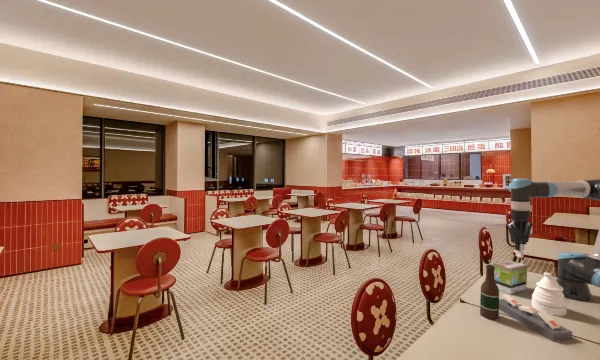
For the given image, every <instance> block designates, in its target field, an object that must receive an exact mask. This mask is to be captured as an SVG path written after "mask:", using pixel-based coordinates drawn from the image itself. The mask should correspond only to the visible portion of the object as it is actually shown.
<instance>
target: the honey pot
mask: <svg viewBox="0 0 600 360" xmlns="http://www.w3.org/2000/svg"><path fill="white" fill-rule="evenodd" d="M556 280H557V278H555V277H554V276H553V275H551V273H550V272H543V277H542V278H541V279H540V281H537V282H536V283H535V285H536V287H535V288H534V291H533V293H532V295H531V307H532V308H533V309H536V310H539V312H546V313H547V314H548V315H551V316H557V317H558V316H559V317H563V316H567V311H568V306H567V305H568V303H567V300H566V297H564V294H563V292H562V291H563V290H564V289H563V287H561V286H560V285H559V284H558V282H557V281H556Z"/></svg>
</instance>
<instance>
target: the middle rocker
mask: <svg viewBox="0 0 600 360" xmlns="http://www.w3.org/2000/svg"><path fill="white" fill-rule="evenodd" d="M518 307H519V309H520V310H523V311H527V312H530V313H533V314H534V313H537V314H538V313H539V312H540V311H539V310H537V309H535V308H534V307H529V306H526V305H522V306H518Z"/></svg>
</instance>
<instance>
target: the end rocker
mask: <svg viewBox="0 0 600 360" xmlns="http://www.w3.org/2000/svg"><path fill="white" fill-rule="evenodd" d="M537 314H539V315H540V317H541V318H542V319H543V320H544V321H545V322H546V323H547V324H548V325H549V326H550V327H551V328H552V329H559V328H560V326H561V325H560V324H558V322H556V321H555V320H554V319H553V318H552V316H550V314H547V313H546V312H541V311H539V313H537ZM559 325H560V326H559Z"/></svg>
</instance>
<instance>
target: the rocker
mask: <svg viewBox="0 0 600 360" xmlns="http://www.w3.org/2000/svg"><path fill="white" fill-rule="evenodd" d="M501 299H505V300H506V301H508V302H509V303H510V304H511V305H513V306H514V307H515V306H520V305H521V303H519V302H518V301H517V300H516V299H514V298H513V297H511V295H510V294H508V293H506V294H501Z"/></svg>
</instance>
